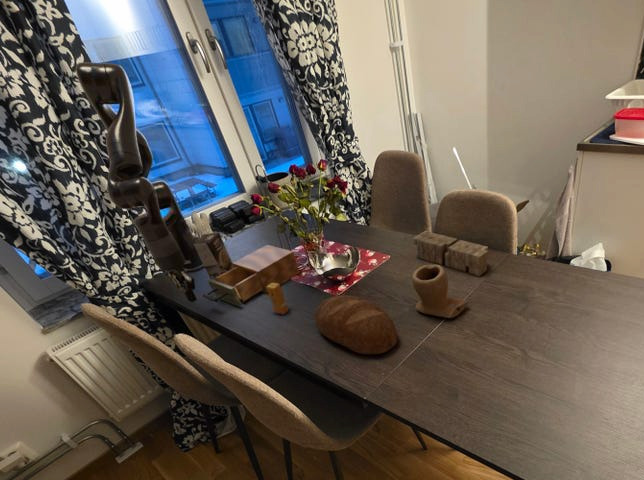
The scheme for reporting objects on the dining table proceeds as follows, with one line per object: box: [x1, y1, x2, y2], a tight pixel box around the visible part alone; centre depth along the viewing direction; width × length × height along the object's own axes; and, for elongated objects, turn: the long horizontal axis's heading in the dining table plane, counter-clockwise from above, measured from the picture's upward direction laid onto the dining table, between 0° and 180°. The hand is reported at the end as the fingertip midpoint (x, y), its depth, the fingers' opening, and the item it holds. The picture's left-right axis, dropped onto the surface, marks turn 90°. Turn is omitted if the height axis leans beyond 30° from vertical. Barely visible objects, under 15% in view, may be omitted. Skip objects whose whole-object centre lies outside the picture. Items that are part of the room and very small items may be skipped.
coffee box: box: [194, 232, 234, 281], centre depth 146 cm, size 9×6×16 cm
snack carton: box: [300, 238, 313, 268], centre depth 147 cm, size 5×3×13 cm, turn 56°
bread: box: [314, 294, 398, 355], centre depth 112 cm, size 16×29×11 cm, turn 50°
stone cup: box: [411, 263, 469, 319], centre depth 115 cm, size 15×12×15 cm
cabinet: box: [232, 244, 301, 294], centre depth 144 cm, size 16×15×9 cm
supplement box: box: [266, 283, 289, 315], centre depth 126 cm, size 3×3×10 cm
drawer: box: [202, 267, 264, 307], centre depth 136 cm, size 20×14×7 cm, turn 146°
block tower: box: [412, 229, 489, 277], centre depth 141 cm, size 8×8×29 cm
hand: (193, 300), depth 125 cm, fingers closed
